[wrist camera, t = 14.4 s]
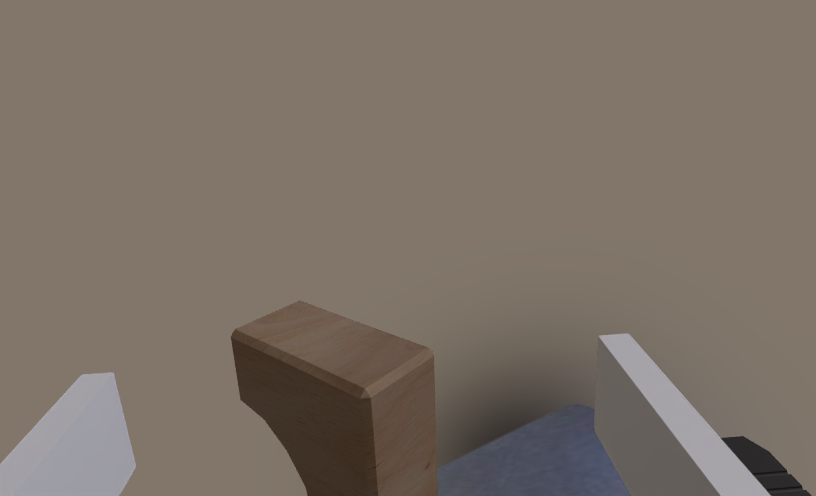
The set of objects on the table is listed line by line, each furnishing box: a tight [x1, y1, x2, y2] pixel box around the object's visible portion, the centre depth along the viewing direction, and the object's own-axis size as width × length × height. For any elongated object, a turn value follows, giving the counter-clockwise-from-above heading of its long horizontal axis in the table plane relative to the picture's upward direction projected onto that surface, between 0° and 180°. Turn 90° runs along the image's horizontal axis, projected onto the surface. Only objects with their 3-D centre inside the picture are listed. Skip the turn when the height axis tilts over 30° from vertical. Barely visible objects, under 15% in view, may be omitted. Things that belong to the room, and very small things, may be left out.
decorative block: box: [231, 301, 438, 496], centre depth 36 cm, size 11×6×20 cm, turn 49°
